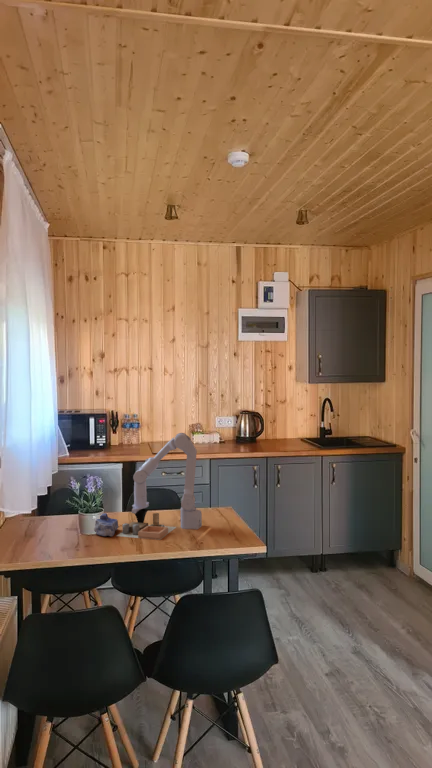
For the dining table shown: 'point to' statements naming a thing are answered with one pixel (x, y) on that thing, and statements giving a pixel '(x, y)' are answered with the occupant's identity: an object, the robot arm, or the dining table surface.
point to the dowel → (155, 519)
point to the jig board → (137, 528)
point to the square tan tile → (142, 525)
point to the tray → (153, 532)
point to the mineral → (106, 525)
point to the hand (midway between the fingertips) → (140, 525)
